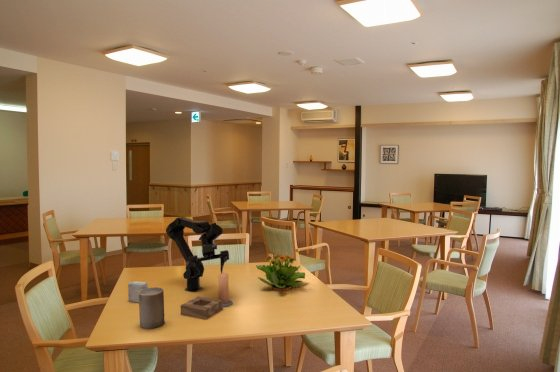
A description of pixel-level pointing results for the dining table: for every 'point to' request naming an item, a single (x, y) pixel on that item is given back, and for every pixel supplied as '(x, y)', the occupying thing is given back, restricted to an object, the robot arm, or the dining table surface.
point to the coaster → (228, 304)
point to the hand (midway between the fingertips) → (211, 274)
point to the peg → (223, 288)
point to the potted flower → (281, 273)
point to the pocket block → (201, 307)
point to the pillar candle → (151, 307)
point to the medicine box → (135, 290)
